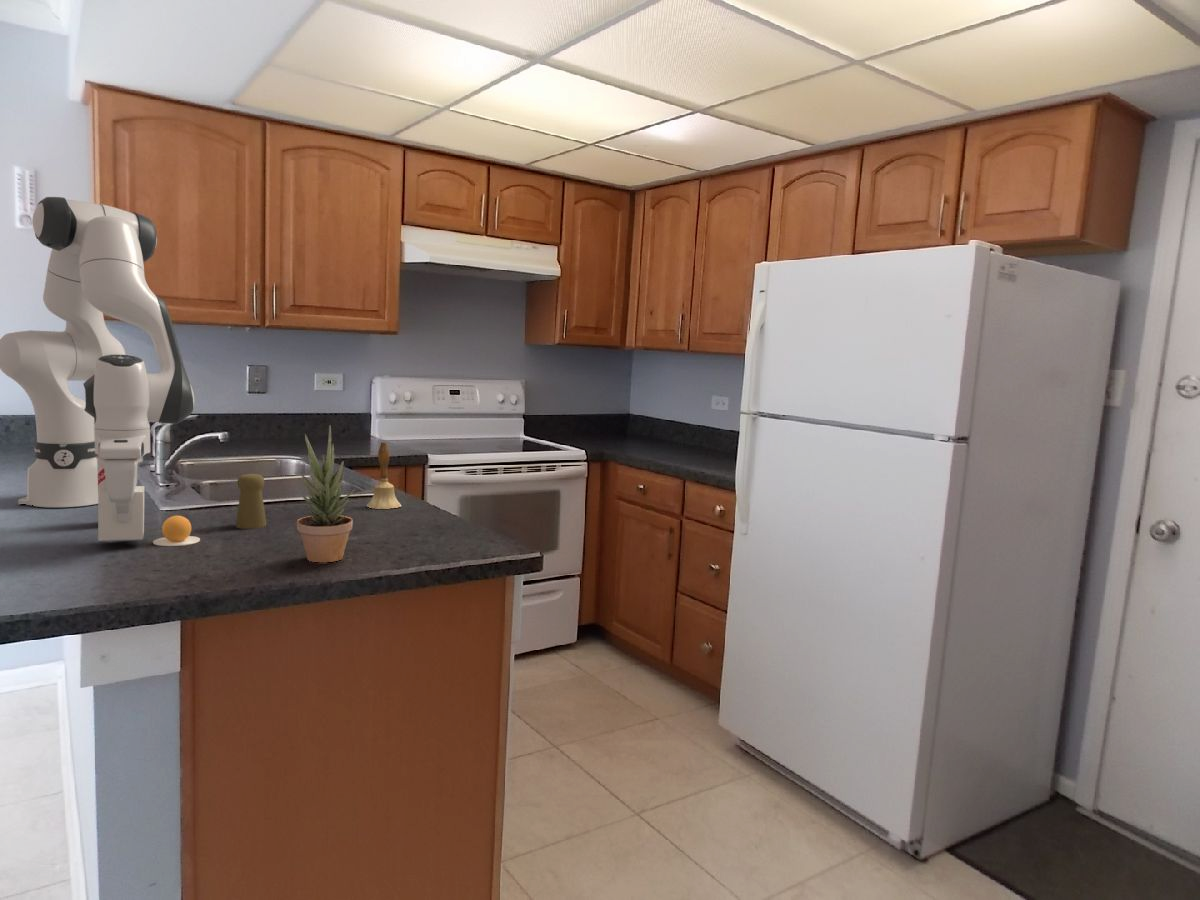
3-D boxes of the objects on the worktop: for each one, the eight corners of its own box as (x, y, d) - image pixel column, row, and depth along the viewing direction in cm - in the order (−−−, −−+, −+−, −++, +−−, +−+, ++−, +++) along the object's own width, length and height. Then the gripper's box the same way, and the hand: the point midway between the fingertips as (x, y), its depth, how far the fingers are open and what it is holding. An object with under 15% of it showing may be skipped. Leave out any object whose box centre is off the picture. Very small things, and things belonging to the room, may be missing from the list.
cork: (257, 521, 175) (257, 471, 174) (272, 526, 171) (272, 474, 170) (230, 525, 170) (229, 473, 169) (244, 530, 167) (244, 477, 165)
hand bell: (382, 511, 192) (383, 444, 190) (359, 506, 196) (359, 441, 195) (408, 507, 199) (409, 442, 197) (385, 502, 203) (386, 439, 202)
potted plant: (298, 567, 140) (298, 426, 137) (295, 554, 149) (295, 421, 146) (358, 564, 144) (359, 426, 141) (351, 551, 153) (352, 421, 150)
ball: (192, 513, 158) (190, 538, 158) (163, 513, 155) (161, 538, 156) (192, 518, 153) (190, 544, 154) (162, 518, 151) (160, 544, 151)
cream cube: (101, 532, 152) (101, 486, 151) (143, 531, 155) (144, 486, 154) (98, 540, 146) (98, 492, 145) (142, 539, 149) (143, 492, 148)
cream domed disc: (153, 538, 156) (153, 537, 156) (199, 535, 160) (199, 534, 160) (152, 547, 149) (152, 546, 149) (200, 544, 153) (200, 543, 153)
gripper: (107, 437, 156) (108, 508, 158) (98, 450, 138) (100, 530, 140) (144, 437, 159) (145, 506, 161) (140, 450, 141) (142, 527, 143)
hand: (124, 517), depth 150 cm, fingers closed on cream cube, 7 cm apart
